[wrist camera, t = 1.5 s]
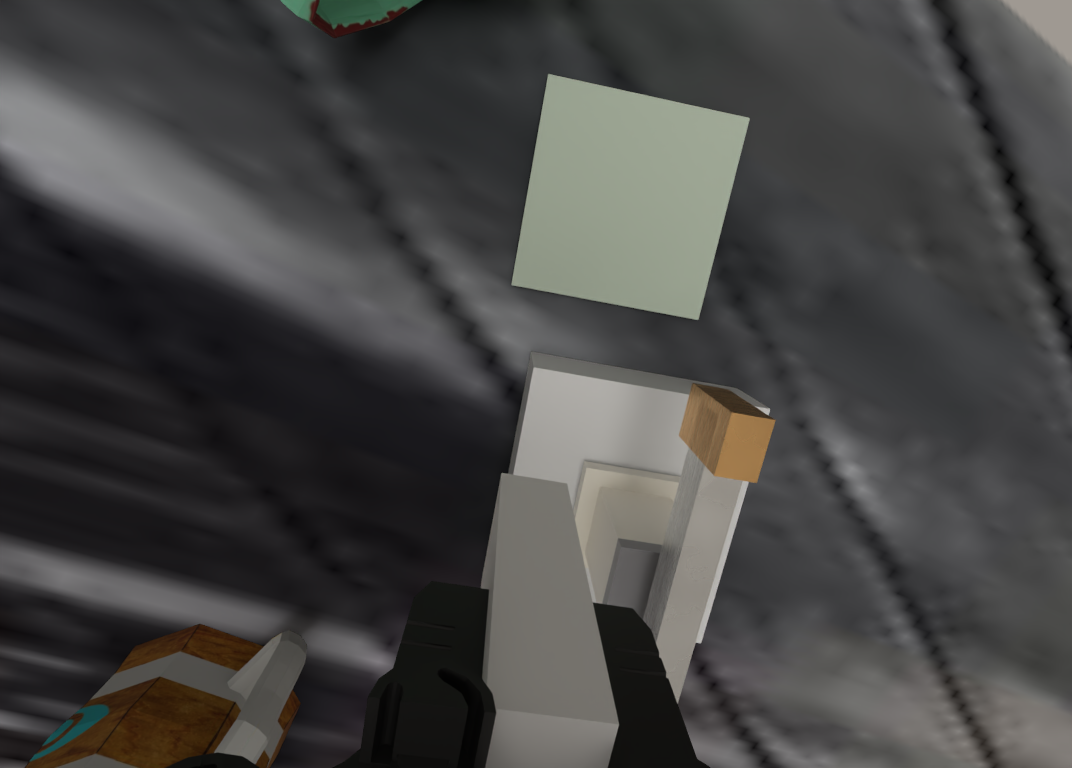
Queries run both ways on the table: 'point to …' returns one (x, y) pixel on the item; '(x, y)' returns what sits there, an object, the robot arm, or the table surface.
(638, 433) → the socket
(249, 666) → the mug
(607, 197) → the mat
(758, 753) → the table surface
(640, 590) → the plug
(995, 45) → the table surface
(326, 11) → the mug
